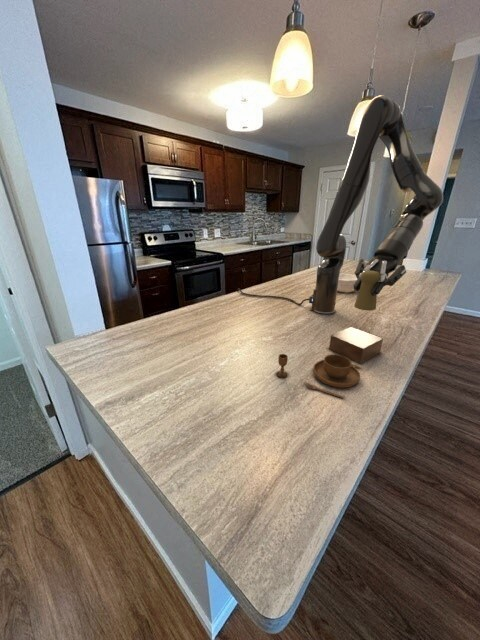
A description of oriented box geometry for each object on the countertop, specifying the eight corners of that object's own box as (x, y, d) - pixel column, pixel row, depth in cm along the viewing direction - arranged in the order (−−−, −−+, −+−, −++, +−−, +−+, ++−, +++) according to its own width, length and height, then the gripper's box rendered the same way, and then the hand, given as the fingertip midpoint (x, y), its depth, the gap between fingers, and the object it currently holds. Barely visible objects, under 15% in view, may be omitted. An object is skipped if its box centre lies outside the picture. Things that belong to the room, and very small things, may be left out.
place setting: (352, 403, 61) (356, 382, 59) (274, 376, 71) (275, 358, 69) (363, 367, 75) (367, 349, 73) (297, 349, 85) (298, 333, 82)
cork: (375, 305, 81) (382, 269, 77) (376, 311, 76) (383, 274, 72) (354, 302, 83) (360, 268, 79) (353, 308, 78) (359, 272, 74)
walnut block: (329, 349, 85) (330, 335, 83) (348, 340, 91) (351, 326, 89) (360, 363, 77) (363, 348, 75) (379, 352, 83) (383, 338, 81)
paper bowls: (355, 295, 139) (357, 281, 136) (326, 291, 146) (328, 277, 143) (360, 289, 150) (363, 275, 147) (333, 285, 158) (335, 272, 155)
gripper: (368, 236, 81) (338, 279, 80) (418, 239, 70) (384, 290, 69) (375, 252, 86) (346, 293, 85) (422, 257, 75) (391, 305, 73)
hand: (364, 291), depth 77 cm, fingers closed on cork, 5 cm apart
